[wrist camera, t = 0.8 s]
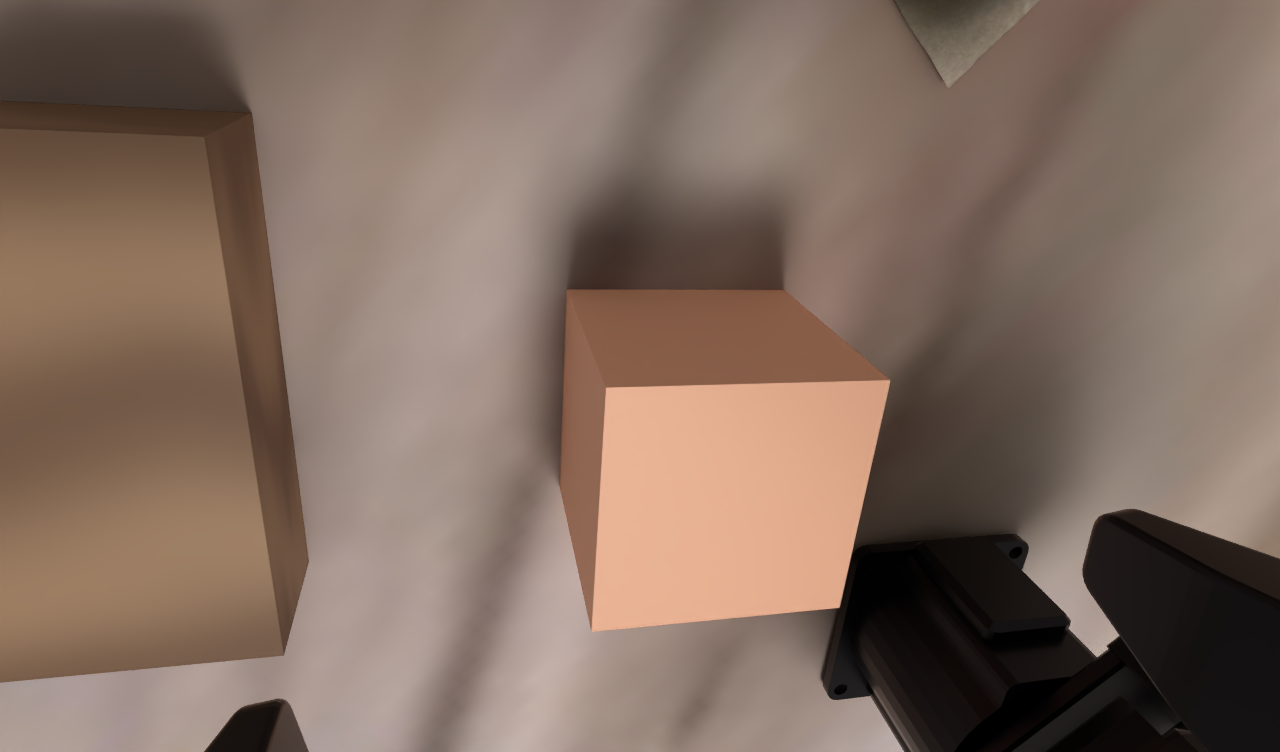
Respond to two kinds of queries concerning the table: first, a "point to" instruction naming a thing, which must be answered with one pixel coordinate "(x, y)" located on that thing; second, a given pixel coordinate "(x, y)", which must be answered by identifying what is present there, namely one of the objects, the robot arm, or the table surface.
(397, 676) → the table surface
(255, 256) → the walnut block
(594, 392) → the terracotta cube
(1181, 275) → the table surface
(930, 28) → the condiment
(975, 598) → the robot arm
